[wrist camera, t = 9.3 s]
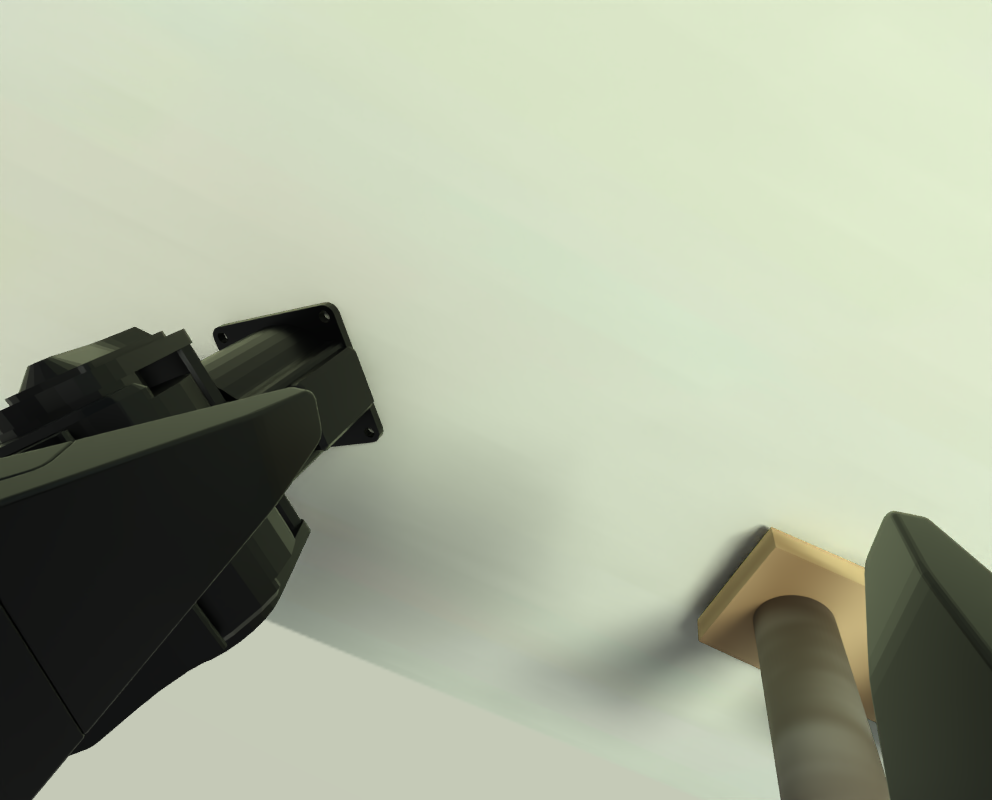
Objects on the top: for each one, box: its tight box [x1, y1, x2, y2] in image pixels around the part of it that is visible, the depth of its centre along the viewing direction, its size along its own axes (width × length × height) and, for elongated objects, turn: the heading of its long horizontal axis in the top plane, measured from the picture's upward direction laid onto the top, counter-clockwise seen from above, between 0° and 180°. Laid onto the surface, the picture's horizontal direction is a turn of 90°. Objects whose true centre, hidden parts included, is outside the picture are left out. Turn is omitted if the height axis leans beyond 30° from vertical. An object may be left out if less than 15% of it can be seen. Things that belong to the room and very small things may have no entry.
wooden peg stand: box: [698, 527, 890, 800], centre depth 18 cm, size 14×6×12 cm, turn 71°
